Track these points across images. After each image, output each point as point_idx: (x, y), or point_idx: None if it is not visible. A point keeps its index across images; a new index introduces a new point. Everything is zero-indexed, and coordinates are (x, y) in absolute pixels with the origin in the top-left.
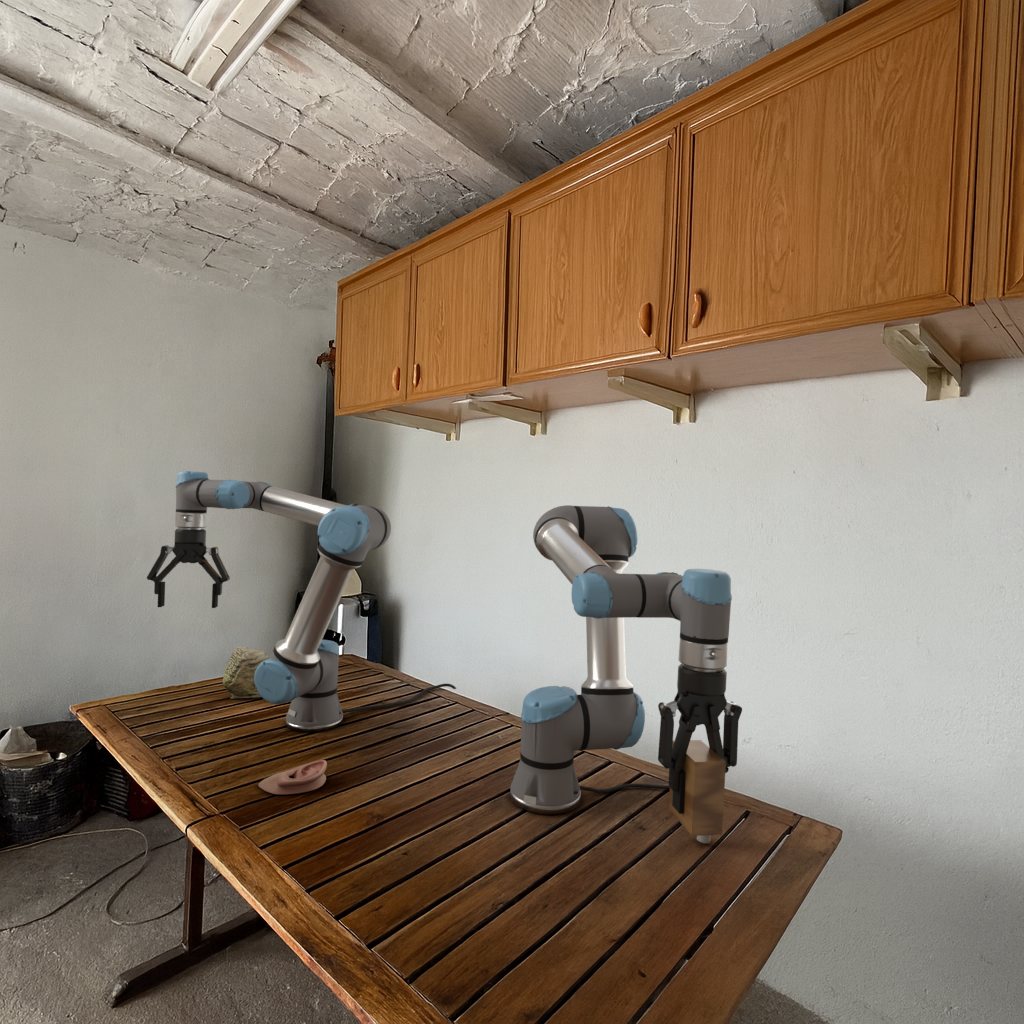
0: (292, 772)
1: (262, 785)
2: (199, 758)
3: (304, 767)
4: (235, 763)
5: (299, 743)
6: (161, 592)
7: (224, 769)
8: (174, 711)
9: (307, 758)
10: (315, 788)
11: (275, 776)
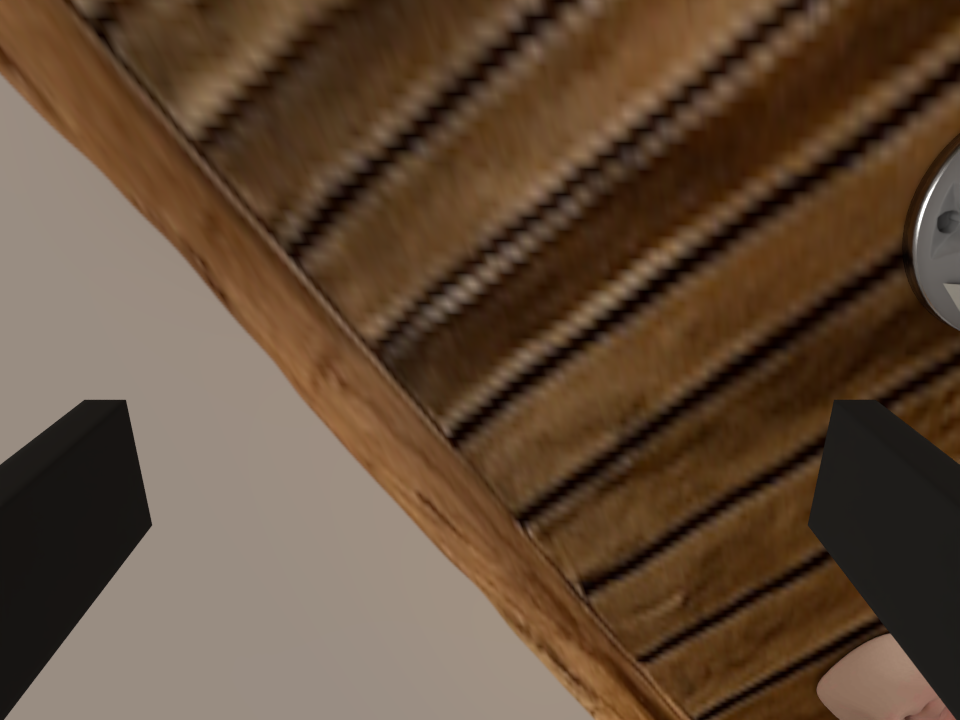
0: (918, 712)
1: (829, 705)
2: (629, 526)
3: None
4: (741, 562)
5: (940, 429)
6: (21, 670)
7: (715, 595)
8: (379, 31)
9: None
10: None
11: (870, 712)
